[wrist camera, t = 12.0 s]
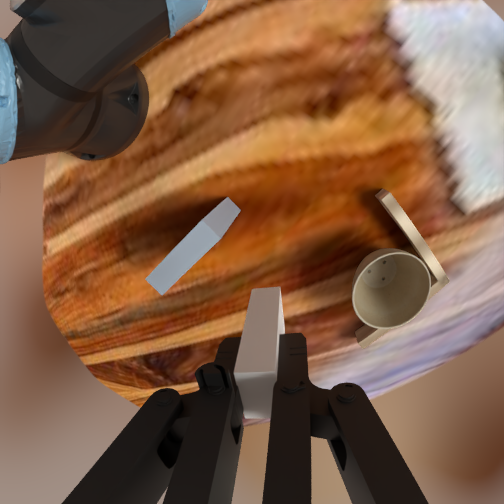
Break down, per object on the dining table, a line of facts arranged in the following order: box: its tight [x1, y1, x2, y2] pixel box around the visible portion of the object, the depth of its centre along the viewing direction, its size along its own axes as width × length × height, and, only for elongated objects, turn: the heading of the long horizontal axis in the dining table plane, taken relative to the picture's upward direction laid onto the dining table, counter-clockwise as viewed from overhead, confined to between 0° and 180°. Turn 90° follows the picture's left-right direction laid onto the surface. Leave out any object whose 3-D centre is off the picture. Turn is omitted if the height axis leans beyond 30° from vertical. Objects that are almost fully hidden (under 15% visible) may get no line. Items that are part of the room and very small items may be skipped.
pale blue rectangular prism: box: [146, 197, 241, 295], centre depth 35 cm, size 2×9×12 cm, turn 134°
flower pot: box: [352, 248, 431, 329], centre depth 37 cm, size 10×10×7 cm
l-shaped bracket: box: [355, 189, 449, 349], centre depth 39 cm, size 16×16×3 cm
